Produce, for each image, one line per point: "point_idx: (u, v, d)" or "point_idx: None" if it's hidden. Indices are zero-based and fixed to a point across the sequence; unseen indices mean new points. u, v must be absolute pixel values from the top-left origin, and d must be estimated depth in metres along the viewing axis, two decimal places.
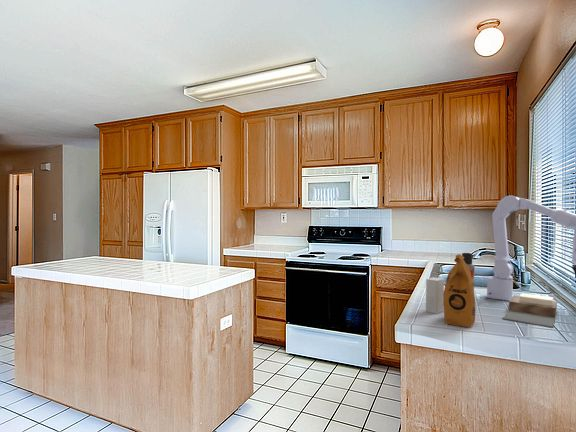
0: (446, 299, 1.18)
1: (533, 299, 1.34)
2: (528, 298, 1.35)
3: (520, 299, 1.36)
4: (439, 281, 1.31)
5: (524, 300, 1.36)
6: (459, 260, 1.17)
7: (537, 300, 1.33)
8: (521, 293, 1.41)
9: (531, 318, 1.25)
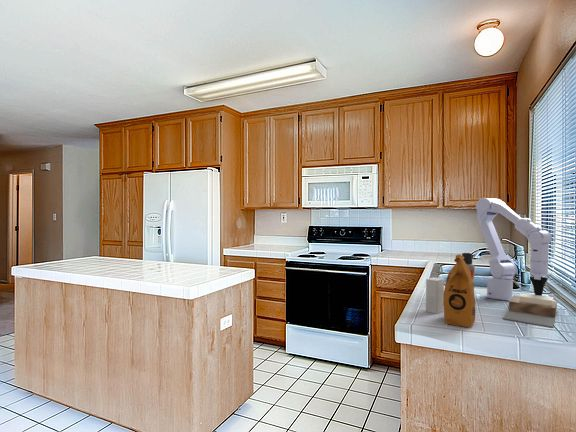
0: (446, 299, 1.18)
1: (533, 299, 1.34)
2: (528, 298, 1.35)
3: (520, 299, 1.36)
4: (439, 281, 1.31)
5: (524, 300, 1.36)
6: (459, 260, 1.17)
7: (537, 300, 1.33)
8: (521, 293, 1.41)
9: (531, 318, 1.25)
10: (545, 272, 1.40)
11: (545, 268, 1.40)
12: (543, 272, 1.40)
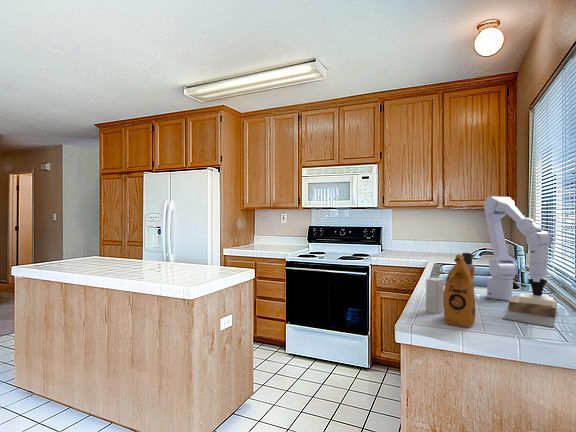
0: (446, 299, 1.18)
1: (533, 299, 1.34)
2: (528, 298, 1.34)
3: (520, 299, 1.36)
4: (439, 281, 1.31)
5: (524, 300, 1.35)
6: (459, 260, 1.17)
7: (537, 300, 1.33)
8: (521, 293, 1.41)
9: (531, 318, 1.25)
10: (544, 274, 1.37)
11: (544, 270, 1.36)
12: (542, 274, 1.36)
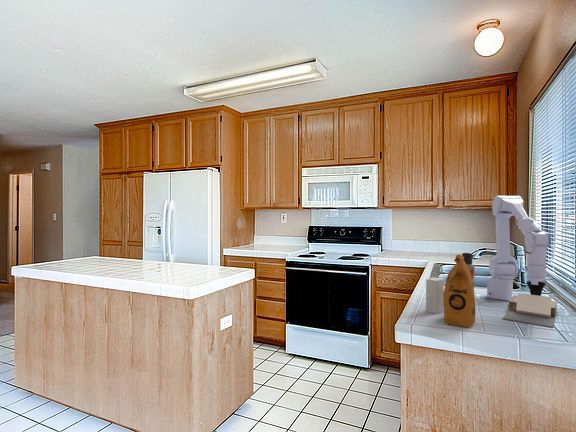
0: (446, 299, 1.18)
1: (530, 312, 1.29)
2: (525, 311, 1.30)
3: (517, 311, 1.32)
4: (439, 281, 1.31)
5: (521, 312, 1.31)
6: (459, 260, 1.17)
7: (534, 313, 1.28)
8: (518, 294, 1.35)
9: (531, 318, 1.25)
10: (543, 277, 1.31)
11: (542, 273, 1.31)
12: (541, 277, 1.31)
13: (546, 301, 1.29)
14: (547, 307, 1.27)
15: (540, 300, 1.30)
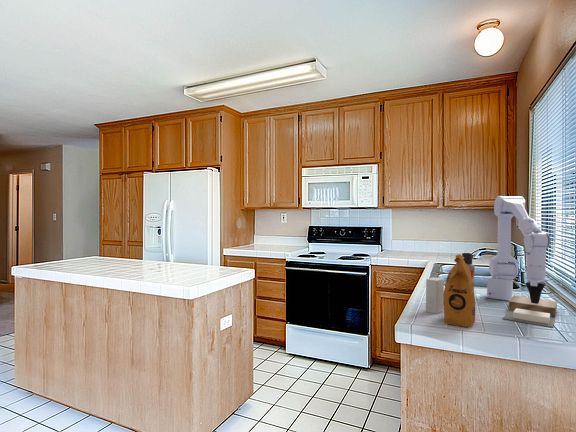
0: (446, 299, 1.18)
1: None
2: None
3: None
4: (439, 281, 1.31)
5: None
6: (459, 260, 1.17)
7: None
8: None
9: None
10: (542, 278, 1.29)
11: (542, 274, 1.29)
12: (540, 278, 1.29)
13: None
14: None
15: None
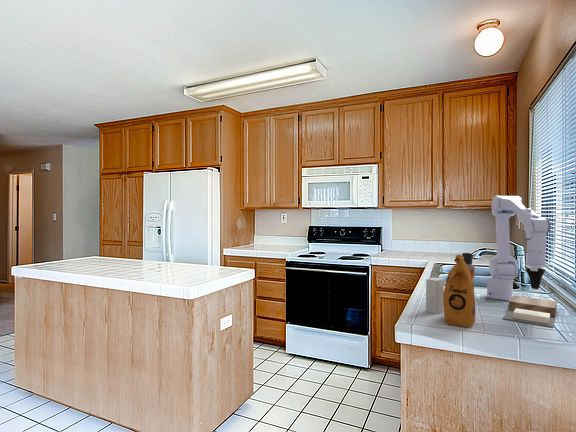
0: (446, 299, 1.18)
1: None
2: None
3: None
4: (439, 281, 1.31)
5: None
6: (459, 260, 1.17)
7: None
8: None
9: None
10: (542, 263, 1.29)
11: (542, 259, 1.29)
12: (540, 263, 1.29)
13: None
14: None
15: None
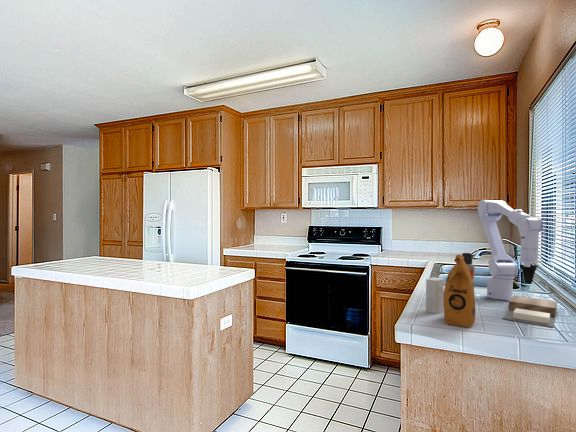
0: (446, 299, 1.18)
1: None
2: None
3: None
4: (439, 281, 1.31)
5: None
6: (459, 260, 1.17)
7: None
8: None
9: None
10: (535, 259, 1.39)
11: (534, 256, 1.39)
12: (533, 259, 1.39)
13: None
14: None
15: None
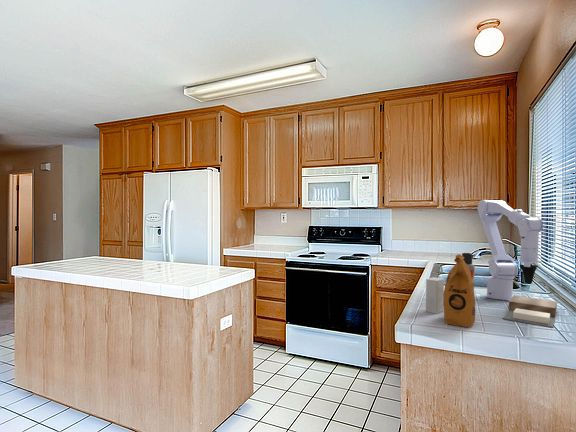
0: (446, 299, 1.18)
1: None
2: None
3: None
4: (439, 281, 1.31)
5: None
6: (459, 260, 1.17)
7: None
8: None
9: None
10: (535, 259, 1.39)
11: (534, 256, 1.39)
12: (533, 259, 1.39)
13: None
14: None
15: None
